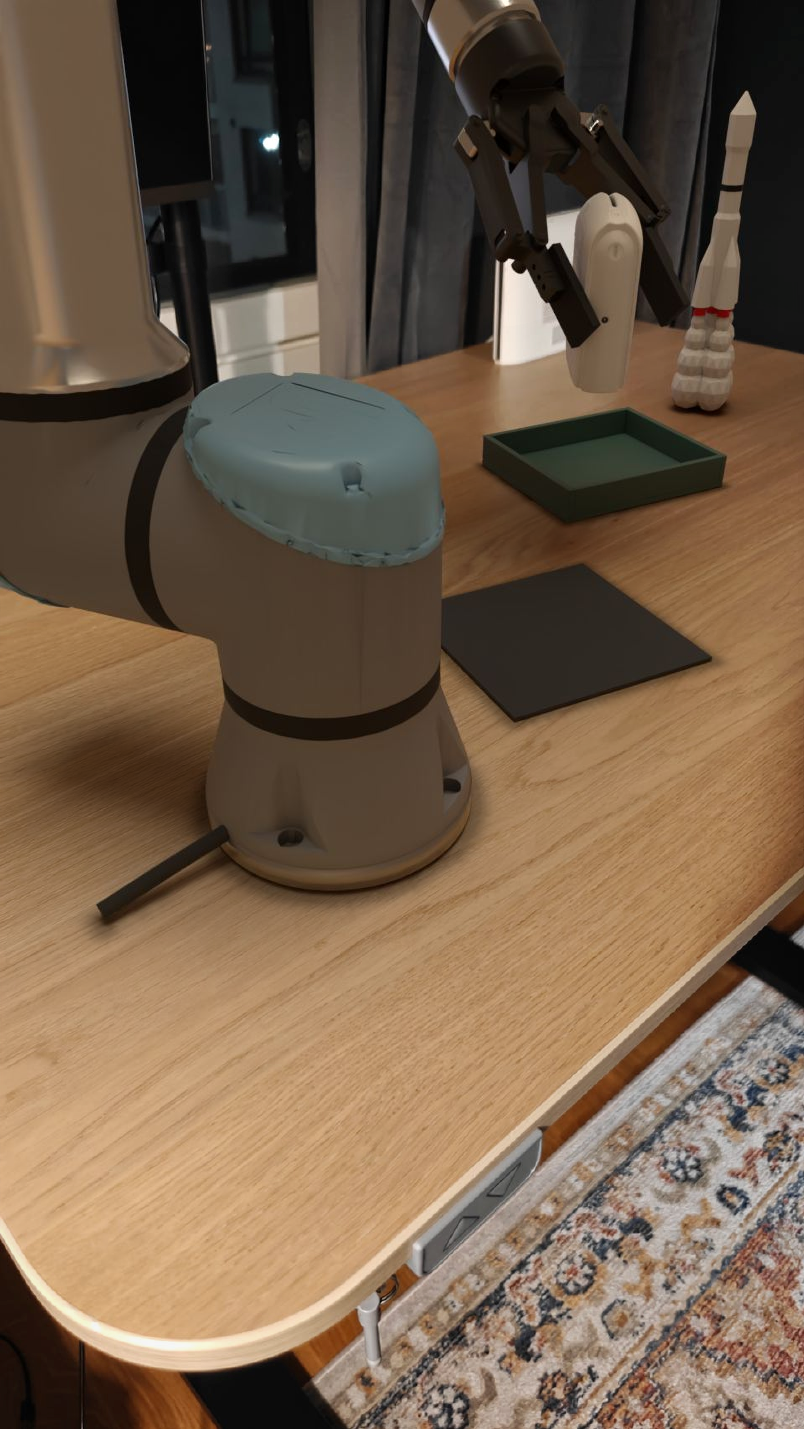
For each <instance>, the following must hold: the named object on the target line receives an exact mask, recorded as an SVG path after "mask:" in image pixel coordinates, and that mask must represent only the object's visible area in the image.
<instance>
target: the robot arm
mask: <svg viewBox="0 0 804 1429" xmlns="http://www.w3.org/2000/svg"><path fill="white" fill-rule="evenodd" d="M411 2H412V5H413V6H414V8H415V10H416V11H417V13H418V15H419V17H420V19H421V21H422V23H423V25H424V28H425V30H426V32H427V34H428V36H429V38H430V40H431V42H432V43H433V46H434V49H435V50H436V52H437V54H438V56H439V59H440V60H441V62H442V64H443V66H444V68H445V71H446V72H447V74H448V77H449V79H450V80H451V81H452V83H453V84H454V87H455V88H454V89H455V91H456V92H455V93H456V94H457V96H458V98H459V101H460V103H461V104H462V106H463V108H464V110H465V112H466V115H467V117H468V119H467V121H466V122H465V123H464V126H463V127H462V129H461V130H460V132H459V134H458V136H456V139H455V140H454V141H453V145H452V146H453V149H454V151H455V152H456V154H457V155H458V157H459V159H460V161H461V162H462V163H463V165H464V166H465V168H466V170H467V173H468V177H469V179H470V183H471V186H472V189H473V193H474V197H475V199H476V202H477V207H478V209H479V212H480V213H479V214H480V216H481V219H482V222H483V226H484V229H485V232H486V236H487V239H488V242H489V246H490V249H491V253H492V256H493V257H494V259H495V260H496V261H497V262H499V263H503V264H504V263H506V262H508V260H512V262H511V263H510V267H511V269H512V271H513V272H514V273H516V274H518V275H524V274H525V272H526V271H527V273H528V274H529V277H530V279H531V280H532V283H533V285H534V287H535V288H536V290H537V293H538V295H539V297H540V299H541V300H542V301H543V302H544V303H545V304H549V306H550V308H551V310H552V312H553V314H554V316H555V318H556V319H557V322H558V325H559V326H560V328H561V330H562V332H563V334H564V337H565V340H566V339H567V341H568V343H569V345H570V347H571V349H573V348H577V347H580V346H581V345H582V344H583V343H584V342H585V341H586V340H587V339H588V337H589V336H590V335H591V334H592V333H593V332H594V331H595V330H596V329H597V328H598V327H599V326H600V325H601V324H600V322H599V320H598V318H597V316H596V314H595V312H594V310H593V308H592V306H591V304H590V301H589V299H588V297H587V295H586V293H585V291H584V289H583V287H582V285H581V283H580V281H579V279H578V277H577V275H576V273H575V271H574V269H573V267H572V265H573V264H572V263H571V261H570V259H569V257H568V255H567V253H566V251H565V249H564V247H563V245H562V243H561V242H555V243H554V242H553V243H551V245H549V247H548V246H547V245H548V244H549V242H550V241H549V240H550V239H549V229H548V228H549V227H548V218H547V217H548V216H547V206H546V195H545V185H544V184H545V183H544V173H545V174H550V175H555V176H556V178H558V179H559V181H561V183H562V184H564V185H565V186H570V185H572V186H573V187H574V188H575V189H576V190H577V191H578V192H579V193H580V194H581V195H582V196H583V197H584V198H585V200H587V201H588V200H589V199H590V198H591V197H593V196H594V195H596V194H598V193H601V192H603V193H606V194H607V195H608V196H609V195H611V194H613V193H619V194H620V195H622V196H624V197H625V198H626V199H628V201H629V202H630V203H631V204H632V205H633V207H634V209H635V211H636V213H637V215H638V218H639V221H640V224H641V229H642V235H643V250H642V258H641V267H640V275H639V284H638V285H639V286H640V288H641V291H642V293H643V295H644V296H645V298H646V301H647V302H648V304H649V307H650V308H651V311H652V312H653V315H654V316H655V319H656V321H657V323H658V325H659V327H660V328H665V327H668V326H669V325H670V324H671V323H673V321H674V320H676V319H677V318H678V317H679V316H680V315H681V314H682V313H683V312H684V311H685V310H686V309H688V308H689V307H690V306H691V301H690V299H689V297H688V295H687V293H686V291H685V289H684V287H683V285H682V282H681V281H680V279H679V277H678V275H677V274H676V271H675V269H674V268H675V266H674V261H673V259H672V257H671V255H670V253H669V251H668V250H667V247H666V245H665V242H664V241H663V239H662V237H661V235H660V232H659V228H660V227H661V226H662V224H664V222H666V220H667V219H668V218H669V217H670V216H671V215H672V209H671V207H670V206H669V204H668V202H667V201H666V200H665V198H664V196H663V195H662V194H661V191H659V189H658V188H657V186H656V185H655V183H654V182H653V180H652V179H651V178H650V176H649V174H648V172H646V170H645V169H644V166H642V164H641V162H640V161H639V160H638V159H637V157H636V155H635V154H634V152H633V151H632V149H631V148H630V146H629V145H628V143H627V142H626V141H625V139H624V138H623V136H622V134H621V133H620V132H619V130H618V126H617V124H616V122H615V118H614V117H613V114H612V112H611V110H610V108H609V107H608V106H607V105H606V104H603V103H600V104H598V105H597V107H596V108H595V109H594V111H593V112H583V111H580V109H579V108H578V106H577V105H576V104H575V103H574V102H573V101H572V100H571V99H570V98H569V96H568V95H567V93H566V91H565V76H566V75H565V73H566V72H565V70H566V69H565V63H564V61H563V59H562V56H561V55H560V53H559V51H558V48H557V47H556V45H555V43H554V41H553V38H552V37H551V35H550V33H549V30H548V29H547V26H546V25H545V24H544V23H543V22H542V19H541V15H540V11H539V9H538V7H537V5H536V2H535V1H534V0H411ZM120 28H121V27H120V22H119V13H118V5H117V0H0V588H1V589H3V590H7V591H10V592H14V593H15V594H18V595H19V596H21V597H25V598H27V599H28V598H29V599H31V600H33V601H36V602H37V603H39V604H41V605H46V606H48V607H56V608H65V609H69V608H73V609H78V610H81V611H86V612H91V613H94V614H95V613H96V614H98V615H104V616H108V617H113V618H115V619H121V620H126V621H129V622H135V623H139V624H142V625H146V626H151V627H157V628H160V629H164V630H169V631H173V632H179V633H183V634H187V635H190V636H194V637H199V638H203V639H206V640H210V641H211V642H213V643H214V644H215V646H216V650H217V657H218V662H219V663H218V664H219V668H220V674H221V680H222V681H221V682H222V688H223V696H224V700H223V704H222V709H221V713H220V717H219V722H218V726H217V730H216V733H215V738H214V741H213V746H212V751H211V754H210V758H209V763H208V768H207V772H206V779H205V780H206V781H205V790H204V791H205V802H206V807H207V814H208V820H209V824H210V829H211V831H209V832H208V833H206V834H205V835H203V836H201V837H199V838H198V839H196V840H195V841H194V842H192V843H190V844H188V845H187V846H185V847H183V848H182V849H180V850H179V851H177V852H176V853H173V855H170V856H169V857H167V858H166V859H165V860H163V861H161V862H159V863H158V864H157V865H155V866H153V867H152V868H150V869H149V870H147V871H146V872H144V873H142V874H141V875H140V876H137V877H136V878H135V879H133V880H131V881H130V882H128V883H127V884H125V885H124V886H122V887H121V888H119V889H117V890H116V891H115V892H113V893H111V894H110V895H108V896H107V897H105V898H104V899H102V900H100V901H99V902H97V903H96V904H95V905H96V906H95V907H96V908H97V909H98V911H99V913H100V914H101V916H102V917H103V919H104V920H107V919H109V918H111V917H112V916H113V915H115V914H117V913H118V912H120V911H121V910H123V909H125V907H127V906H129V905H130V904H132V903H133V902H135V901H136V900H138V899H139V898H141V897H142V896H145V895H146V894H147V893H149V892H150V891H152V890H153V889H155V888H157V887H158V886H159V885H161V884H163V883H164V882H165V881H167V880H169V879H170V878H172V877H173V876H175V875H176V874H179V873H180V872H181V871H183V870H184V869H186V868H187V867H189V866H190V865H192V864H194V863H195V862H197V861H199V860H200V859H201V858H203V857H205V856H206V855H208V854H210V853H211V852H213V851H215V850H216V849H217V848H220V847H221V848H222V850H223V852H225V853H226V854H227V856H229V857H230V858H231V859H232V860H233V861H234V862H236V863H237V864H238V865H240V866H241V867H243V868H244V869H245V870H247V871H249V872H250V873H253V874H255V875H256V876H258V877H260V878H263V879H265V880H268V881H270V882H273V883H277V884H280V885H284V886H286V887H287V886H288V887H291V888H297V889H303V890H309V891H311V890H312V891H326V892H329V891H330V892H331V891H350V890H359V889H365V888H372V887H376V886H380V885H383V884H387V883H390V882H393V881H396V880H399V879H402V878H404V877H407V876H409V875H412V874H413V873H415V872H417V871H419V870H421V869H423V868H425V867H427V866H428V865H429V864H431V863H433V862H434V861H436V859H438V858H439V857H440V856H441V855H443V854H444V853H445V852H446V851H447V850H448V849H449V848H450V847H451V846H452V845H453V844H454V843H455V842H456V841H457V839H458V838H459V836H460V835H461V833H462V832H463V830H464V828H465V826H466V824H467V821H468V819H469V815H470V811H471V806H472V787H473V786H472V784H473V783H472V780H473V779H472V770H471V766H470V760H469V756H468V752H467V750H466V747H465V745H464V742H463V740H462V737H461V735H460V732H459V729H458V726H457V724H456V722H455V719H454V716H453V714H452V711H451V709H450V706H449V703H448V701H447V698H446V696H445V693H444V690H443V687H442V683H441V682H442V681H441V680H442V679H441V656H442V648H441V608H442V599H443V543H444V542H443V541H444V539H443V538H444V535H445V527H446V523H447V518H446V507H445V503H444V499H443V494H442V481H441V480H442V479H441V478H442V477H441V464H440V463H441V462H440V454H439V449H438V446H437V442H436V440H435V437H434V435H433V433H432V431H431V430H430V428H429V427H428V426H427V425H426V424H425V423H424V422H423V421H422V419H421V418H420V417H419V416H418V414H417V413H416V411H414V410H413V409H412V408H411V407H410V406H408V405H407V404H405V403H404V402H402V400H399V399H397V398H396V397H394V396H392V395H391V394H388V393H386V392H384V391H383V390H380V389H378V388H375V387H372V386H369V385H366V384H363V383H359V382H356V381H353V380H349V379H344V378H340V377H336V376H331V375H326V374H318V373H312V372H311V373H310V372H297V371H296V372H295V371H294V372H292V373H291V374H290V375H281V374H280V375H278V374H276V373H274V372H258V373H257V372H256V373H250V374H243V375H238V376H234V377H229V378H227V379H223V380H220V381H219V382H215V383H213V384H211V385H210V386H208V387H207V388H205V389H203V390H201V391H200V392H199V393H198V394H197V395H196V396H195V390H194V381H193V374H192V373H193V372H192V366H191V365H192V364H191V353H190V348H189V346H188V344H186V343H185V342H184V341H183V340H182V339H181V338H180V337H179V336H178V335H177V334H175V332H173V331H172V330H171V329H170V328H169V327H167V326H166V325H165V324H164V323H163V322H162V321H161V320H160V318H159V317H158V316H157V314H156V313H155V308H154V301H153V300H154V299H153V290H152V283H151V275H150V267H149V258H148V252H147V251H148V250H147V242H146V233H145V226H144V218H143V210H142V209H143V208H142V202H141V201H142V200H141V194H140V185H139V177H138V168H137V159H136V152H135V151H136V150H135V144H134V136H133V127H132V126H133V125H132V120H131V119H132V118H131V110H130V102H129V93H128V86H127V78H126V70H125V63H124V54H123V46H122V44H123V43H122V37H121V30H120ZM578 149H579V151H580V154H579V155H578V157H577V158H576V159H575V161H574V162H573V163H572V164H571V165H569V164H570V163H571V161H572V160H573V159H574V157H575V156H576V155H577V152H578Z"/></svg>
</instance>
